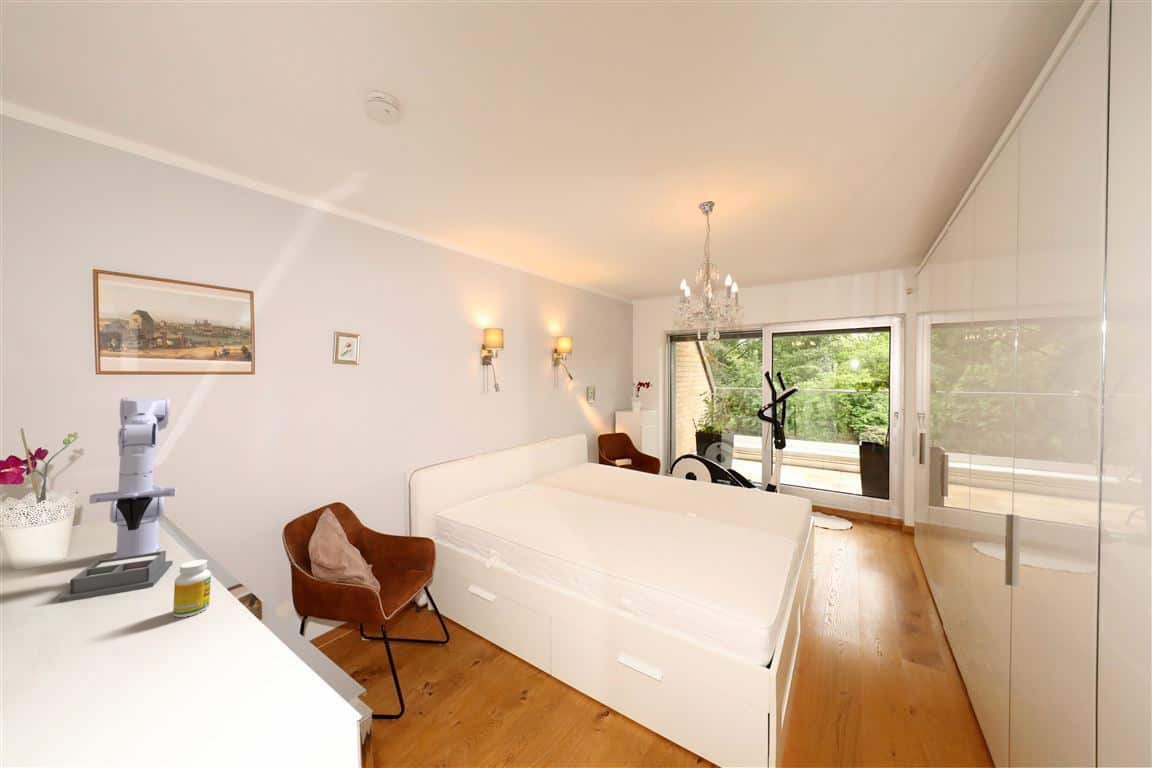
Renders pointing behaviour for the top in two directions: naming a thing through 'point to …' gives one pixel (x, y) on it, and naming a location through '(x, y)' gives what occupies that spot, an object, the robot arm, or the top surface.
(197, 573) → the supplement bottle
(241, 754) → the top surface
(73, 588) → the grey compartment tray
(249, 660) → the top surface
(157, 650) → the top surface
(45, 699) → the top surface
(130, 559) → the space bar
